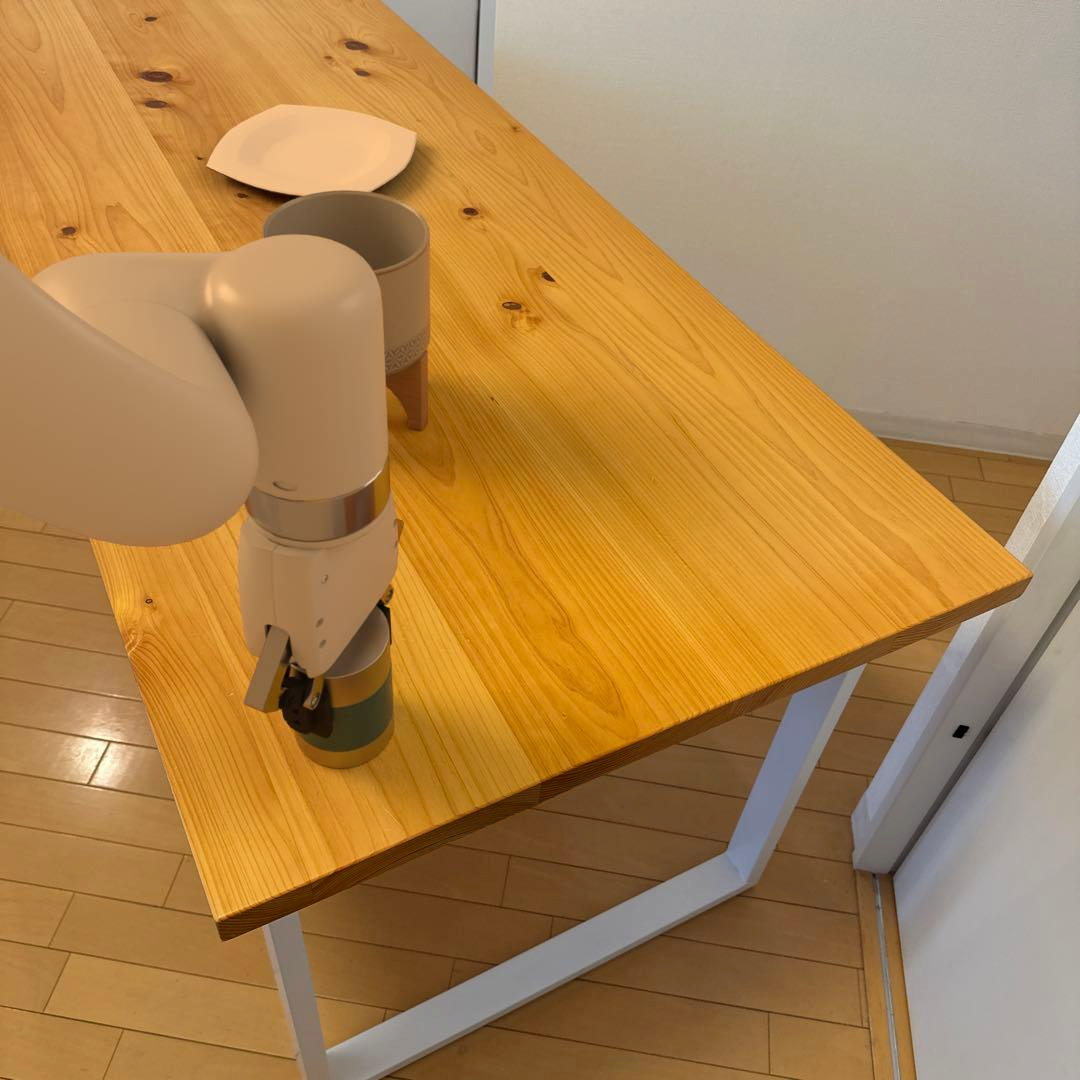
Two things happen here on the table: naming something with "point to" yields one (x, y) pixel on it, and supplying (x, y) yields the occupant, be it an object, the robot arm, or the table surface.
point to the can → (356, 699)
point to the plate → (313, 151)
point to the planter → (379, 274)
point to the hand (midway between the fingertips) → (339, 681)
